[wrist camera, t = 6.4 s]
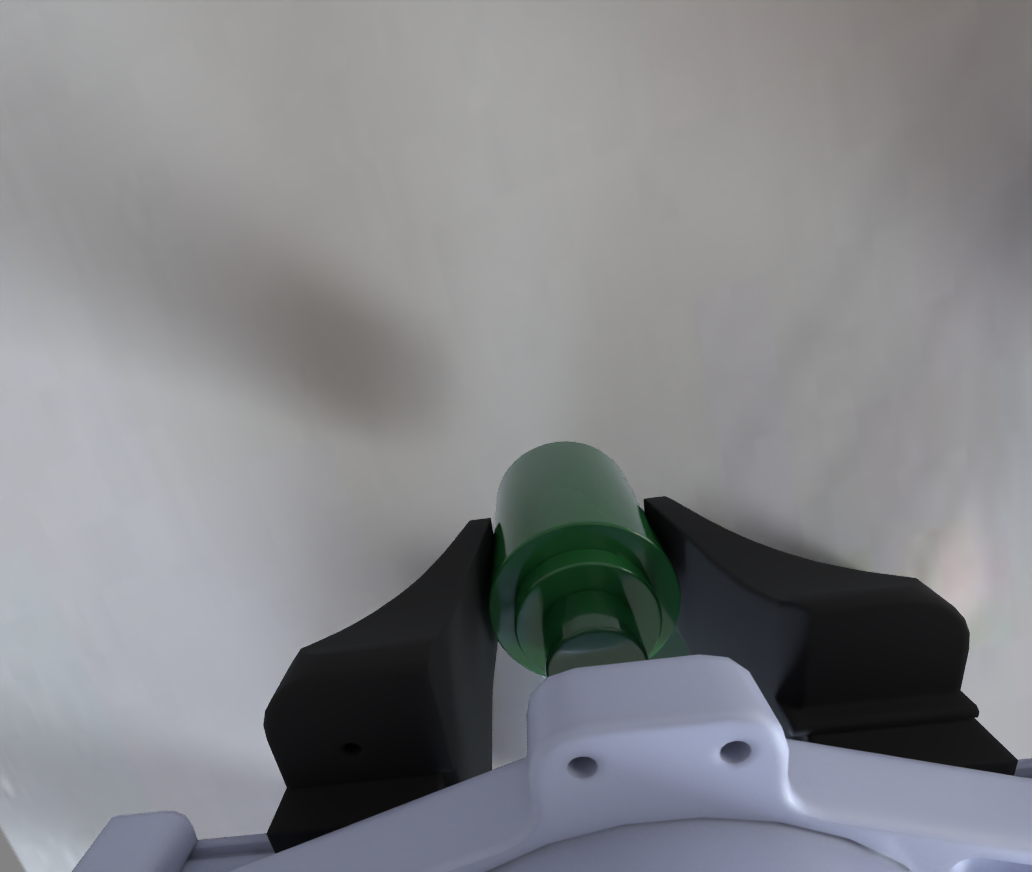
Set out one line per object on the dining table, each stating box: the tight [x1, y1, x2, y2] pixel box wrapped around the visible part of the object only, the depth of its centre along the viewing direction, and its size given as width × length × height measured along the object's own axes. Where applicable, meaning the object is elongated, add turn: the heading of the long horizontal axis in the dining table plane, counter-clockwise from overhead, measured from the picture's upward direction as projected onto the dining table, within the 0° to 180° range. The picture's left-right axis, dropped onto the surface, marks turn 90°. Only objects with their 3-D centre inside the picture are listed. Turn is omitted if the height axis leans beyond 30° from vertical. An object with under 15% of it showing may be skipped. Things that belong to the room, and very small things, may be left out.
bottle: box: [488, 442, 681, 677], centre depth 12 cm, size 4×4×7 cm
